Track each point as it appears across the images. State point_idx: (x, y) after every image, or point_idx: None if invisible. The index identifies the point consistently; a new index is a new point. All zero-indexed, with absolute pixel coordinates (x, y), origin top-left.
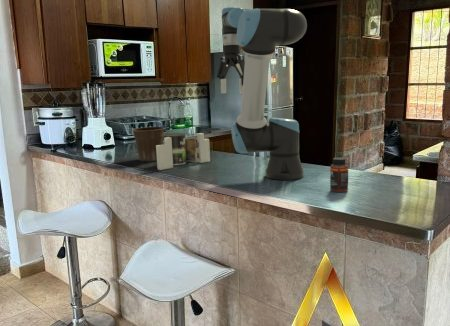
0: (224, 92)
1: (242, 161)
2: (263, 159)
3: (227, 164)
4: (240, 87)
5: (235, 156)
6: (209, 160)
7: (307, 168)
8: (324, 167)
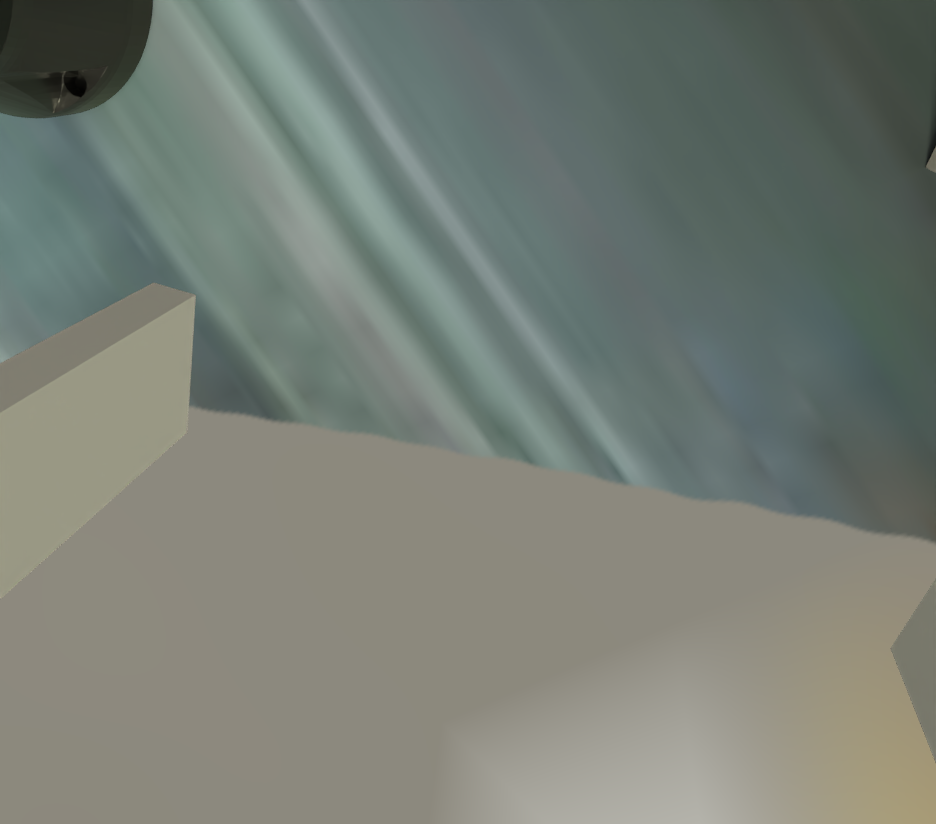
0: (932, 608)
1: (622, 294)
2: (514, 427)
3: (672, 122)
4: (54, 336)
5: (804, 452)
6: (932, 161)
7: (84, 277)
8: None
